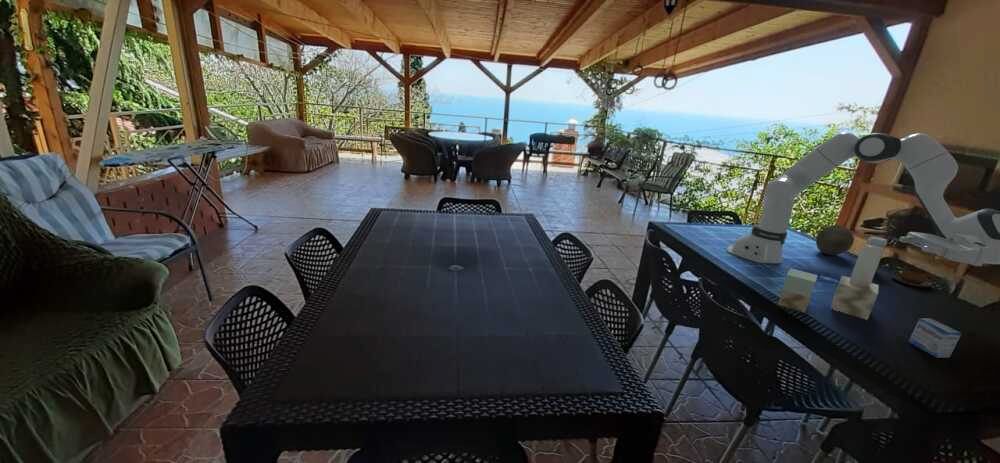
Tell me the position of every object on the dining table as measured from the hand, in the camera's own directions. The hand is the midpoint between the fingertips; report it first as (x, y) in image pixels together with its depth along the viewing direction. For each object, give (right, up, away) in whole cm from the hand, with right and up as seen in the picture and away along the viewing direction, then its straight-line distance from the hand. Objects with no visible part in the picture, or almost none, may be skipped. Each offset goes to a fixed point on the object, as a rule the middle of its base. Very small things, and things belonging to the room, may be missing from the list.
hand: (912, 243), depth 131 cm
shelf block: (-14, -24, +8) cm, 29 cm away
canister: (-14, -14, +5) cm, 20 cm away
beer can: (+27, -13, +45) cm, 54 cm away
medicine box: (-10, -32, -14) cm, 36 cm away
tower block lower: (-33, -22, +9) cm, 41 cm away
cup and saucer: (+34, -18, +33) cm, 51 cm away
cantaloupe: (+24, -8, +61) cm, 66 cm away
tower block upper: (-33, -17, +7) cm, 38 cm away
